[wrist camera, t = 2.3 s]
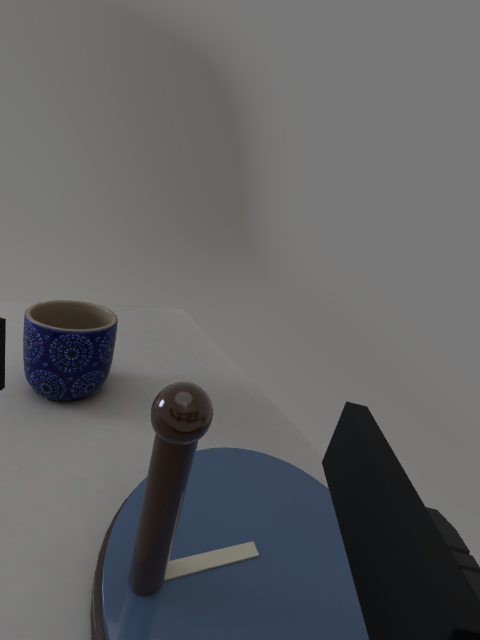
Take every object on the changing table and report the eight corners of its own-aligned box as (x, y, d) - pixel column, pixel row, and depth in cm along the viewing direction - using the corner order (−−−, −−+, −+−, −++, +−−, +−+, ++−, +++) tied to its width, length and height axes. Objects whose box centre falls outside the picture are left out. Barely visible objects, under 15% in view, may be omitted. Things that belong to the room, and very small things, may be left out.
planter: (109, 368, 53) (117, 304, 49) (108, 410, 43) (118, 334, 40) (31, 366, 48) (34, 295, 45) (11, 411, 39) (13, 326, 36)
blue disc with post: (295, 446, 43) (338, 328, 38) (472, 689, 23) (619, 509, 17) (100, 465, 33) (120, 308, 27) (102, 946, 12) (182, 694, 7)
